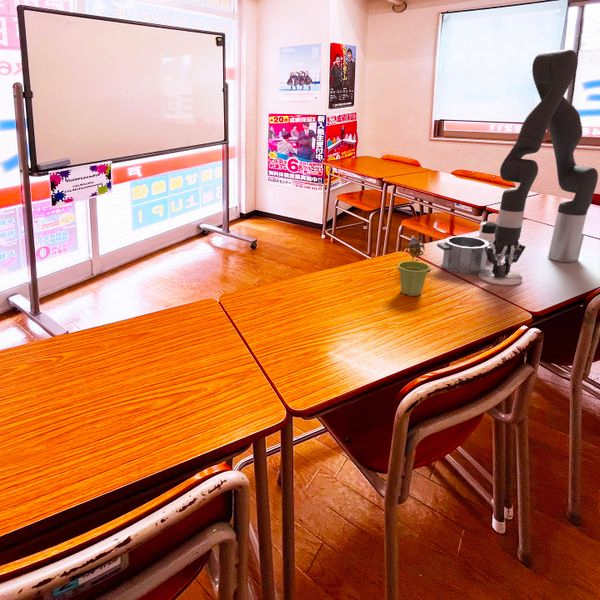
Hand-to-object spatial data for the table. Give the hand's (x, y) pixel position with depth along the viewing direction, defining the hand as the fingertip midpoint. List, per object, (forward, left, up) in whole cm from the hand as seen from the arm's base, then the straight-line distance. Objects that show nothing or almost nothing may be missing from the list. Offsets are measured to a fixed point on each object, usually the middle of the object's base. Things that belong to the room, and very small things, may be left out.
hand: (500, 274), depth 167 cm
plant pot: (+34, +5, -2) cm, 34 cm away
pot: (+6, -13, -1) cm, 14 cm away
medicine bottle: (-9, -24, -2) cm, 26 cm away
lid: (0, 0, -1) cm, 1 cm away
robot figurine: (+24, -14, -2) cm, 28 cm away
